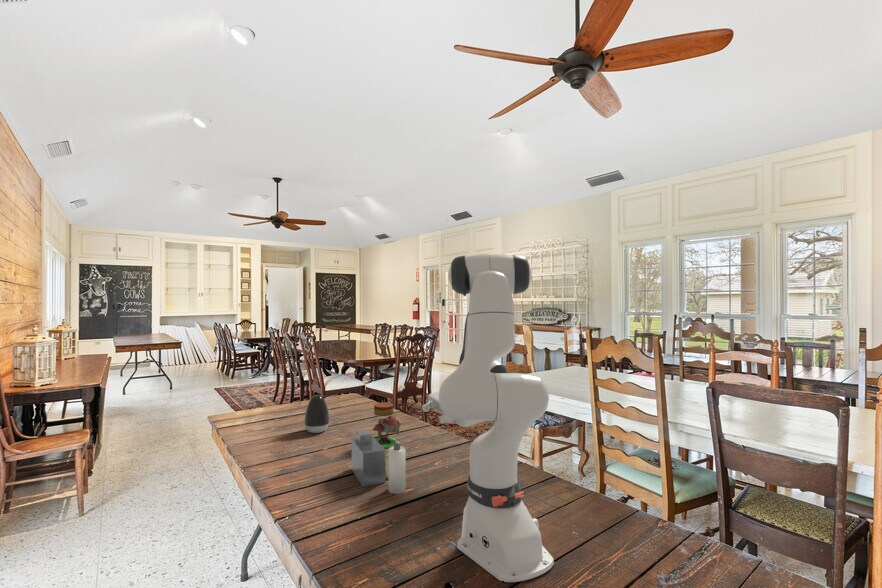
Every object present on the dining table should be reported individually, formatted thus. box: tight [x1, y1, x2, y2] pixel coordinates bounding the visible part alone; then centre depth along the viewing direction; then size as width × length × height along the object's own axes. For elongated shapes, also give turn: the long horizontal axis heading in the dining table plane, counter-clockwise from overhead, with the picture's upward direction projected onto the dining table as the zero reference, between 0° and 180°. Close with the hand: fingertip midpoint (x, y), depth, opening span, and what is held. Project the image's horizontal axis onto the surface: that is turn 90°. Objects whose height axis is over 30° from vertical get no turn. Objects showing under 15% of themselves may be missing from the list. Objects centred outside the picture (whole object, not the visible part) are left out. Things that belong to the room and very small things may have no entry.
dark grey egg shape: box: [303, 394, 331, 434], centre depth 176 cm, size 10×10×15 cm
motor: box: [351, 428, 389, 488], centre depth 136 cm, size 16×13×13 cm
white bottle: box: [387, 440, 407, 495], centre depth 124 cm, size 5×5×14 cm
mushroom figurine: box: [372, 401, 402, 449], centre depth 162 cm, size 12×13×15 cm
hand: (431, 414), depth 128 cm, fingers open, 8 cm apart
